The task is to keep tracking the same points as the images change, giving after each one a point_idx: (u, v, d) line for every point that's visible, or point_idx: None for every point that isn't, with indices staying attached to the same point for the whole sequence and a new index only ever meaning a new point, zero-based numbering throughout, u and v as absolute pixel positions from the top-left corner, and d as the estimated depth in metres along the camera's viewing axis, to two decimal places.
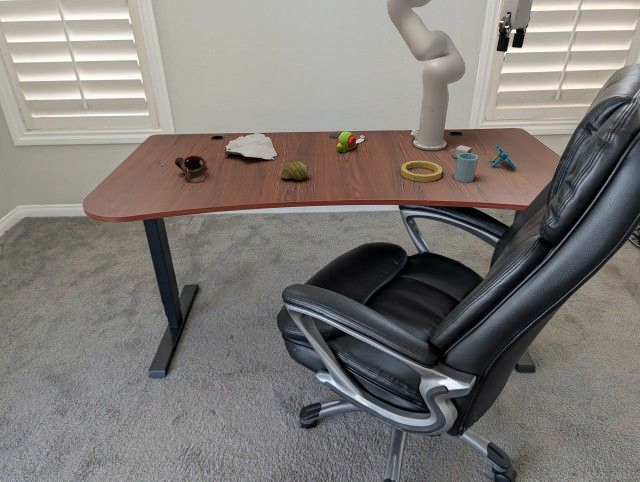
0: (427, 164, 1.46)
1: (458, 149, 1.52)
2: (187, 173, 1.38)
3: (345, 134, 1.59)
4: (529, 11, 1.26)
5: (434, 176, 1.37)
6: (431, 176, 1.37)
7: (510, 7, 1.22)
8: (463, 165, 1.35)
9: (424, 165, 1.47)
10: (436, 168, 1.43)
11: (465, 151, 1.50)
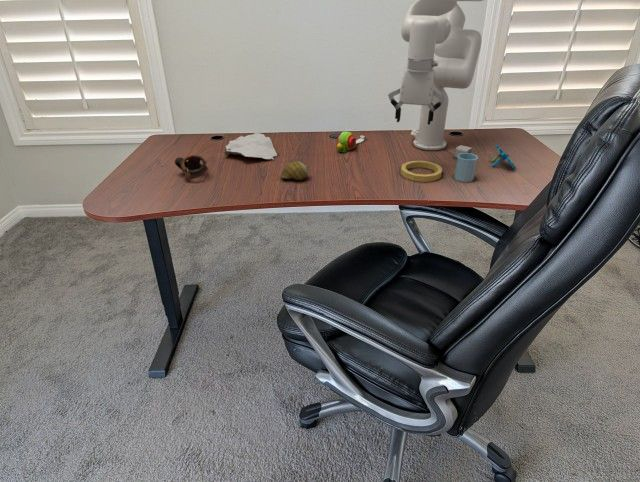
0: (427, 164, 1.46)
1: (458, 149, 1.52)
2: (187, 173, 1.38)
3: (345, 134, 1.59)
4: (427, 90, 1.27)
5: (434, 176, 1.37)
6: (431, 176, 1.37)
7: (401, 83, 1.30)
8: (463, 165, 1.35)
9: (424, 165, 1.47)
10: (436, 168, 1.43)
11: (465, 151, 1.50)
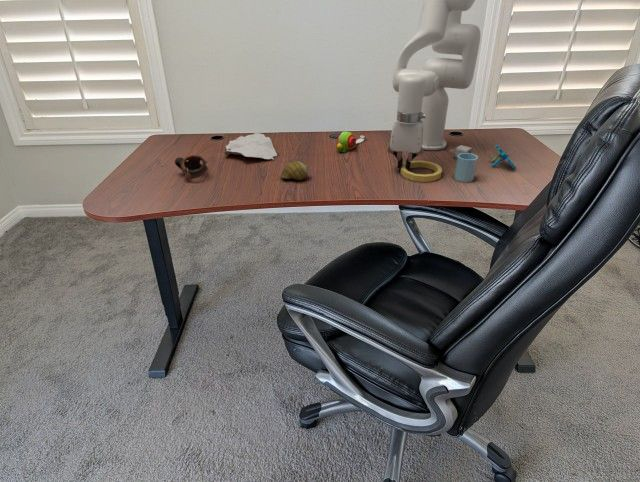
0: (427, 164, 1.46)
1: (458, 149, 1.52)
2: (187, 173, 1.38)
3: (345, 134, 1.59)
4: (415, 140, 1.35)
5: (434, 176, 1.37)
6: (431, 176, 1.37)
7: None
8: (463, 165, 1.35)
9: (424, 165, 1.47)
10: (436, 168, 1.43)
11: (465, 151, 1.50)
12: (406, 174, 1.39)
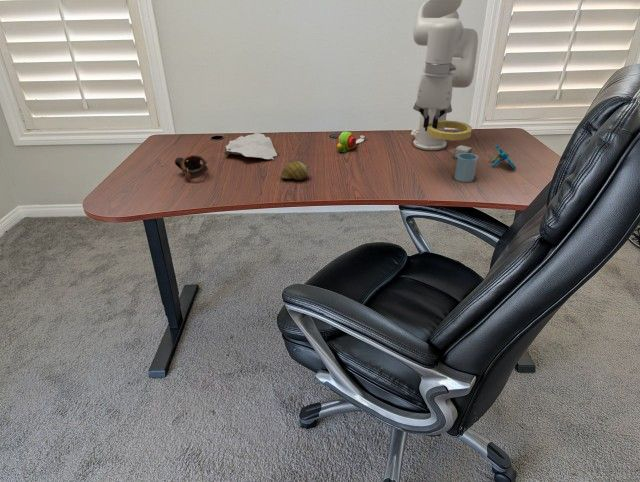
0: (455, 124, 1.36)
1: (458, 149, 1.52)
2: (187, 173, 1.38)
3: (345, 134, 1.59)
4: (444, 95, 1.26)
5: (464, 134, 1.27)
6: (460, 134, 1.27)
7: None
8: (463, 165, 1.35)
9: (452, 125, 1.37)
10: (465, 127, 1.33)
11: (465, 151, 1.50)
12: (433, 132, 1.30)
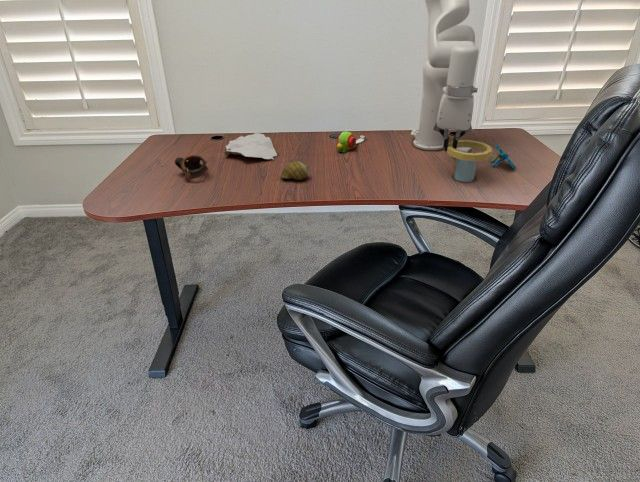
0: (474, 143, 1.38)
1: (458, 149, 1.52)
2: (187, 173, 1.38)
3: (345, 134, 1.59)
4: (465, 116, 1.27)
5: (484, 155, 1.29)
6: (481, 155, 1.29)
7: (439, 108, 1.30)
8: (463, 165, 1.35)
9: (470, 145, 1.39)
10: (484, 147, 1.35)
11: (465, 151, 1.50)
12: (454, 153, 1.31)
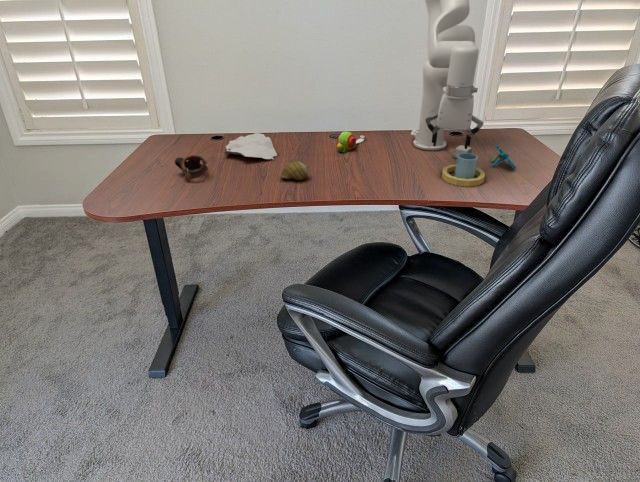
0: None
1: (458, 149, 1.52)
2: (187, 173, 1.38)
3: (345, 134, 1.59)
4: (465, 116, 1.27)
5: (478, 180, 1.34)
6: (475, 180, 1.34)
7: (439, 108, 1.30)
8: (463, 165, 1.35)
9: None
10: (478, 172, 1.40)
11: (465, 151, 1.50)
12: (449, 178, 1.36)
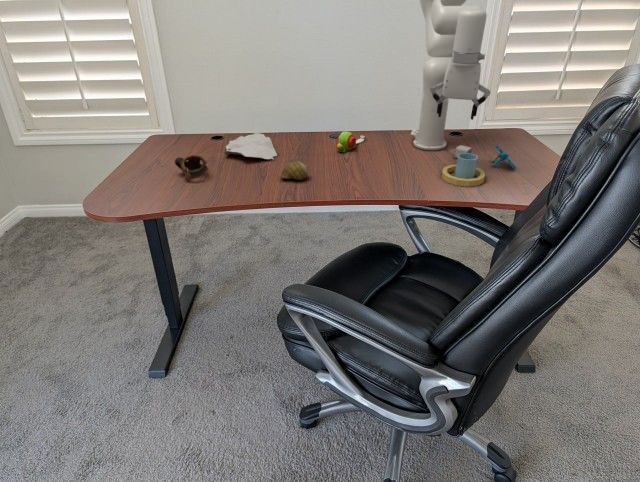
0: None
1: (458, 149, 1.52)
2: (187, 173, 1.38)
3: (345, 134, 1.59)
4: (472, 85, 1.23)
5: (478, 180, 1.34)
6: (475, 180, 1.34)
7: None
8: (463, 165, 1.35)
9: None
10: (478, 172, 1.40)
11: (465, 151, 1.50)
12: (449, 178, 1.36)
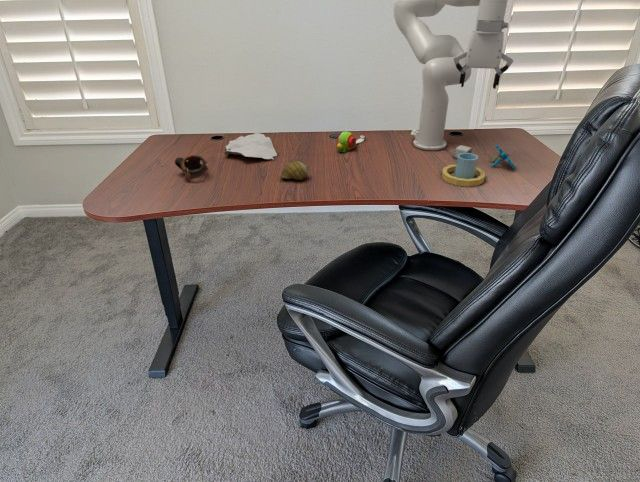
0: None
1: (458, 149, 1.52)
2: (187, 173, 1.38)
3: (345, 134, 1.59)
4: (495, 53, 1.27)
5: (478, 180, 1.34)
6: (475, 180, 1.34)
7: (468, 46, 1.30)
8: (463, 165, 1.35)
9: None
10: (478, 172, 1.40)
11: (465, 151, 1.50)
12: (449, 178, 1.36)
